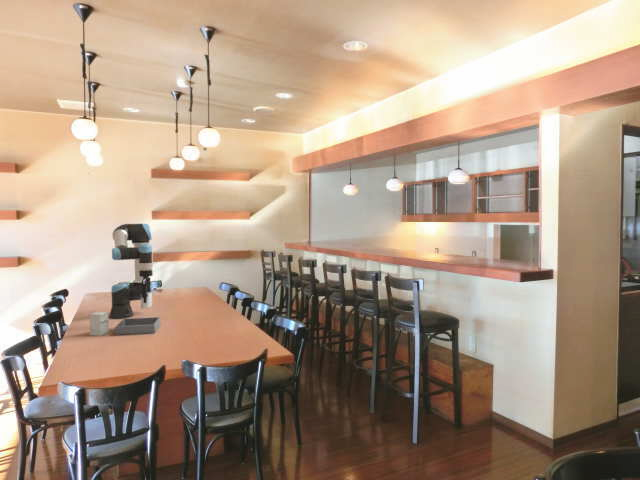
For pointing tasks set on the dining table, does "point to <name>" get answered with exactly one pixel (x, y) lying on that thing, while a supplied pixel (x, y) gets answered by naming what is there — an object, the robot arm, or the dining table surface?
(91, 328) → the supplement box
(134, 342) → the dining table surface
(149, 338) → the dining table surface
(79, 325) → the dining table surface
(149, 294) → the medicine box
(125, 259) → the robot arm
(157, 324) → the tote
